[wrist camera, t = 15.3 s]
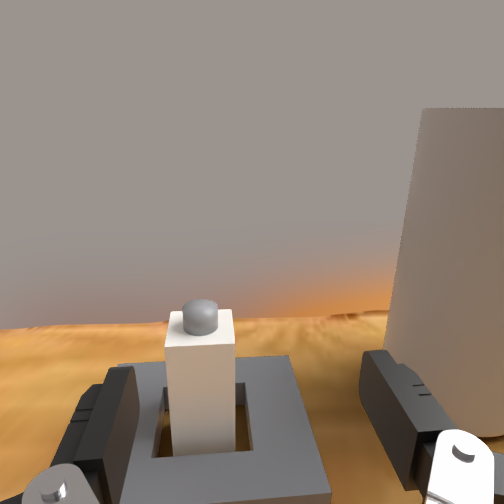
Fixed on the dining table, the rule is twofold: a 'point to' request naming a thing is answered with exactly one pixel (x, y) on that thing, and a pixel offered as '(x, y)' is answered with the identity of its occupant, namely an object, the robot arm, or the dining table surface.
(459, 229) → the cylinder vase
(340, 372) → the dining table surface
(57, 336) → the dining table surface
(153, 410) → the socket plate
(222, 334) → the white block with knob
